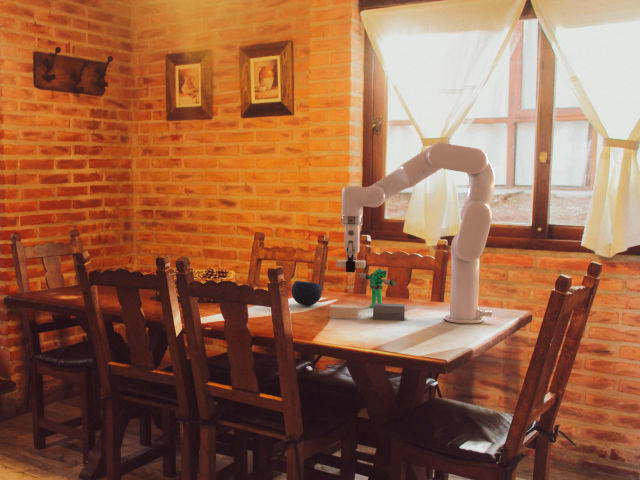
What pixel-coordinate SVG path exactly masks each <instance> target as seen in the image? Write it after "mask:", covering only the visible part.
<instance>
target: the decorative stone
mask: <svg viewBox="0 0 640 480" xmlns="http://www.w3.org/2000/svg"><path fill="white" fill-rule="evenodd" d="M322 294H323V288H322V286H321V284H320V283H317V282H310V281H302V280H295V281H294V282H293V284H292V286H291V296H292V298H293V300H294V301H295V302H296V303H297V304H299V305H300V306H305V307H309V306H313V305H315V304H317V303H318V302H319V300H321V298H322Z"/></svg>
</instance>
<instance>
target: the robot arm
mask: <svg viewBox="0 0 640 480" xmlns="http://www.w3.org/2000/svg"><path fill="white" fill-rule="evenodd" d="M441 169H443V170H448V171H454V172H461V173H466V174H467V177H468V186H467V191H466V196H465V199H464V203H463V205H462V207H461V208H462V209H461V211H460V220H461V222H460V226H459V230H458V233H456V234H455V235H454V237H453V238H452V240H451V245H450V260H451V263H450V264H451V266H450V267H451V268H450V291H449V293H450V294H449V295H450V297H449V298H450V299H449V314H446V315H445V316H444V320H445V321H447V322H450V323H454V324H464V325H465V324H466V325H467V324H479V323H480V324H481V323H482V322H483V317H485V318H486V317H489V318H492V316H493V311H492V310H482V309H480V308H479V295H480V294H479V293H480V292H479V290H480V289H479V287H480V271H481V269H480V268H481V265H480V264H481V263H480V259H481V258H480V257H481V256H482V255H483V253H484V251H485V248H486V245H487V240H488V237H489V233H490V229H491V226H492V221H493V211H492V209H491V208H490V207H491V203H492V199H493V194H494V191H495V185H496V175H495V171H494V168H493V166H492V164H491V162H490V161H489V158H488V155H487V153H486V152H485V151H484V150H482V149H481V148H477V147H470V146H464V145H457V144H451V143H446V142H436V143H434V144H431V145H430V146H428V147H427V148H426V149H424V150H422V151H421V152H420V153H418V154H416V155H415V156H413V157H412V158H410V159H408V160H407V161H405V162H404V163H402V164H401V165H399V166H398V167H397V168H396V169H395V170H393V171H392V172H390V173H389V174H387V175H386V176H384V177H383V178H380V180H378V181H376V182H374V183H373V184H372V185H370V186H363V187H362V186H359V185H358V186H357V185H349V186H347V185H346V186H344V187H342V188H341V189H342V190H341V217H340V219H341V221H340V223H341V224H340V225H341V226H344V237H343V239H344V252H345V254H346V260H347V261H346V267H345V272H346V273H355V272H356V269H357V268H355V261H354V260H357V258H356V257H357V254H359V253H360V251H361V250H360V249H361V248H360V245H361V243H360V242H361V228H360V227H361V226H363V220H364V218H363V217H364V207H367V208H378V207H380V206H382V205H383V204H384V203H385V202H386V201H387V200H389V199H391V198H392V197H394V196H395V195H397V194H399V193H400V192H403V191H404V190H406V189H407V190H408V189H409V188H412V187H414V186H416V185H417V184H419V183H420V182H422V181H424V180H426V179H427V178H428V177H430V176H432V175H434V174H435V173H437V172H438V171H440V170H441Z"/></svg>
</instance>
